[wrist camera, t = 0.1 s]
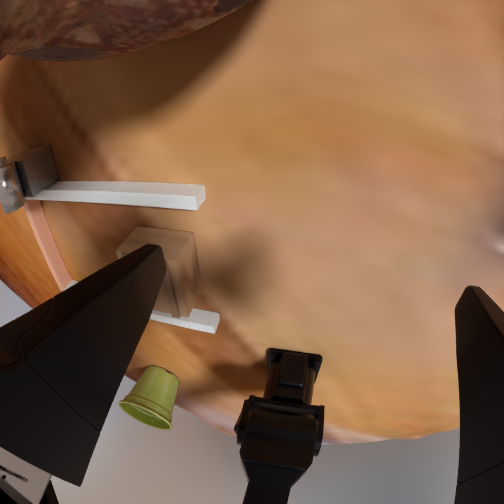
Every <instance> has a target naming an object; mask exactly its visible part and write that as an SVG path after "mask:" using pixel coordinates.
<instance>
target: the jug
mask: <svg viewBox="0 0 504 504" xmlns="http://www.w3.org/2000/svg"><path fill="white" fill-rule="evenodd" d="M252 1H253V0H0V61H1V60H2V59H3V58H4V57H5V56H6V55H7V54H10V55H15V56H20V57H24V58H30V59H37V60H49V61H77V60H87V61H89V62H90V61H94V60H99V59H104V58H110V57H115V56H119V55H123V54H128V53H132V52H135V51H137V50H140V49H143V48H146V47H149V46H152V45H155V44H159V43H162V42H165V41H168V40H171V39H174V38H178V37H181V36H185V35H187V34H189V33H191V32H194V31H196V30H198V29H201V28H203V27H206V26H208V25H209V24H211V23H213V22H215V21H217V20H219V19H221V18H223V17H225V16H227V15H228V14H230V13H232V12H234V11H236V10H238V9H240V8H241V7H243V6H245V5H247V4H249V3H250V2H252Z"/></svg>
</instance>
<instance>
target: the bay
mask: <svg viewBox="0 0 504 504" xmlns="http://www.w3.org/2000/svg"><path fill="white" fill-rule="evenodd" d="M205 199H206V193H205V185H195V184H177V183H155V182H123V181H55V182H53V183H52V184H51V185H49V186H48V187H47V188H45V189H44V190H43V191H41V192H40V193H39V194H37V195H36V196H35V197H26V203H25V204H24V205H23V206H24V208H25V211H26V214H27V216H28V219H29V222H30V224H31V227H32V229H33V232H34V234H35V236H36V239H37V241H38V244H39V246H40V248H41V250H42V253H43V255H44V257H45V259H46V261H47V264H48V266H49V268H50V270H51V272H52V274H53V276H54V278H55V280H56V282H57V284H58V286H59V288H60V290H61V292H62V291H64V290H66V289H67V288H69V287H71V286H73V285H74V284H76V283H78V281H74V280H72V279H71V277H70V275H69V273H68V270H67V268H66V266H65V264H64V261H63V259H62V257H61V255H60V252H59V250H58V247H57V245H56V243H55V240H54V238H53V235H52V233H51V230H50V227H49V225H48V222H47V219H46V217H45V214H44V211H43V208H42V205H41V202H40V200H54V201H75V202H92V203H109V204H123V205H137V206H151V207H163V208H175V209H187V210H198V209H199V207H200V206H201V204H202V203H203V202H204V200H205ZM150 319H152V320H156V321H160V322H164V323H168V324H172V325H177V326H181V327H186V328H190V329H195V330H200V331H204V332H209V333H214V334H215V332H216V329H217V326H218V324H219V321H220V317H219V313H216V312H210V311H205V310H200V309H195V308H193V309H192V311H191V313H190V315H189V317H188V318H187V317H182V316H180V318H175V317H172V315H171V314H169V313H164V312H160V311H155V310H153V311H152V314H151V317H150Z"/></svg>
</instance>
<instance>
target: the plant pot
mask: <svg viewBox="0 0 504 504" xmlns="http://www.w3.org/2000/svg"><path fill="white" fill-rule="evenodd" d="M178 386H179V380H178V378H177V377H176V376H175V375H174V374H172V373H168V372H166V371H165V369H163V368H161V367H156V366H149V367H148V368H147V369H146V370H145V372H144V373H143V374H142V376H141V377H140V379H139V380H138V382H137V383H136V385H135V386H134V387H133V389H132V390H131V392H130V393H129V394H128V395H127V396H126V397H125V398H124V399H123V400H121V401H119V403H118V405H119V407H120V408H121V409H122V410H123V411H124V412H125V413H127V414H128V415H130V416H132V417H133V418H135V419H137V420H138V421H140V422H142V423H144V424H147V425H149V426H152V427H155V428H158V429H162V430H171V429H172V424H171V421H172V416H171V415H172V411H173V406H174V402H175V398H176V394H177V390H178Z"/></svg>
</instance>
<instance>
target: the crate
mask: <svg viewBox="0 0 504 504" xmlns="http://www.w3.org/2000/svg"><path fill="white" fill-rule="evenodd" d="M149 243H150V244H157V245H160V246H161V247H162V249H163V254H164V258H165V262H166V268H167V270H166V275H165V278H164V281H163V283H162V286H161V289H160V292H159V294H158V297H157V300H156V303H155V306H154V309H153V310H155V311H160V312H164V313H169V314H171V315H172V317H175V318H180V316H182V317H187V318H188V317H189V315H190V313H191V311H192V309H193V307H194V305H195V303H196V301H197V299H198V296H199V294H200V292H201V290H202V286H201V280H200V273H199V267H198V261H197V254H196V247H195V240H194V233H193V232H185V231H176V230H167V229H158V228H150V227H141V226H137V227H136V228H135V229H134V230H133V231H132V232H131V233H130V235H129V236H128V237H127V238H126V239H125V240H124V242H123V243H122V244H121V245H120V246H119V247H118V249H117V250H116V254H117V257H118V259H120V258H122V257H124V256H125V255H127V254H129V253H131V252H133V251H135V250H136V249H138V248H140V247H142V246H144V245H146V244H149Z"/></svg>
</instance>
